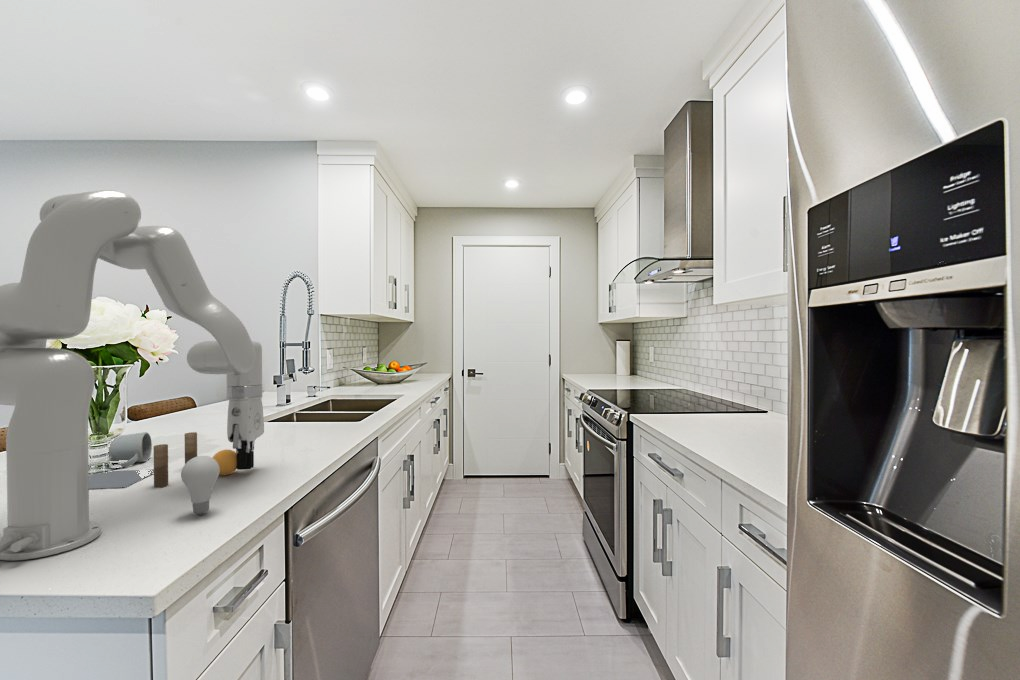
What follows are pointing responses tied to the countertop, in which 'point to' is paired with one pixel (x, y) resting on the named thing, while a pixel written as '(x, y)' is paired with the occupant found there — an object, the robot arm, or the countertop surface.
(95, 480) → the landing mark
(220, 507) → the countertop surface
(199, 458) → the lightbulb
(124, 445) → the ceramic mug
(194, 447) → the gate post right
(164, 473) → the gate post left
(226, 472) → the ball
